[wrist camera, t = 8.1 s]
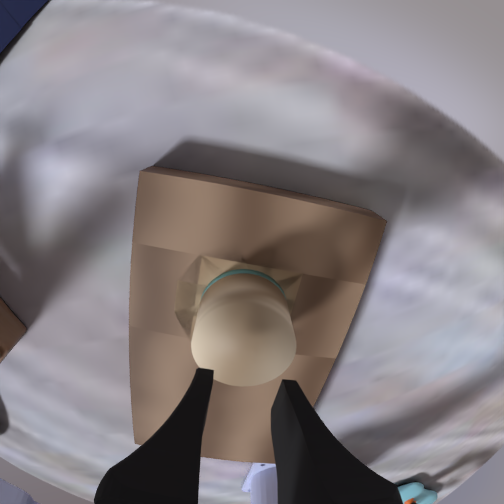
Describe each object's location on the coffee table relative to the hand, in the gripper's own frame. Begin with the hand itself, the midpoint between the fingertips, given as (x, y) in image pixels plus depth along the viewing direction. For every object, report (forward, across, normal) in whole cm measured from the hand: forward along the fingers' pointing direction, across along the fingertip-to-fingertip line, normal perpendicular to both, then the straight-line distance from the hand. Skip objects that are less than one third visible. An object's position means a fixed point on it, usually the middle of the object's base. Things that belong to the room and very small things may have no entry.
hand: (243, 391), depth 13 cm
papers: (+10, +36, -15) cm, 40 cm away
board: (+9, 0, +5) cm, 11 cm away
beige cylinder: (+9, 0, 0) cm, 9 cm away
